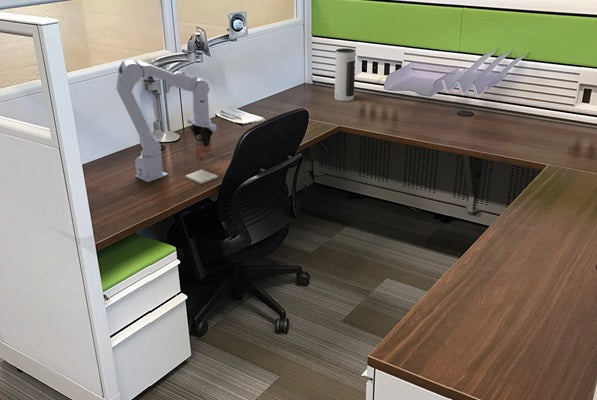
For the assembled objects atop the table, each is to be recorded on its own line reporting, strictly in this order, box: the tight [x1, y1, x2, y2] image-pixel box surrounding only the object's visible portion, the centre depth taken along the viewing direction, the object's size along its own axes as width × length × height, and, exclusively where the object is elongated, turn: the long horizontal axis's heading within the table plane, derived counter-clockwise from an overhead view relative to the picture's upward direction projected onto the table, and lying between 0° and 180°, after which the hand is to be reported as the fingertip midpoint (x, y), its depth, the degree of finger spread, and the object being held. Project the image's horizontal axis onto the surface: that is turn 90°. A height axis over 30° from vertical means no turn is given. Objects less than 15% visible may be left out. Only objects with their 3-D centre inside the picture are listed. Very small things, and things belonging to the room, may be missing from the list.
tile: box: [185, 169, 219, 185], centre depth 236 cm, size 8×9×1 cm
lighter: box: [194, 134, 214, 162], centre depth 241 cm, size 8×3×10 cm, turn 143°
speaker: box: [334, 48, 356, 102], centre depth 327 cm, size 11×10×26 cm
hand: (203, 144), depth 240 cm, fingers closed on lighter, 3 cm apart
